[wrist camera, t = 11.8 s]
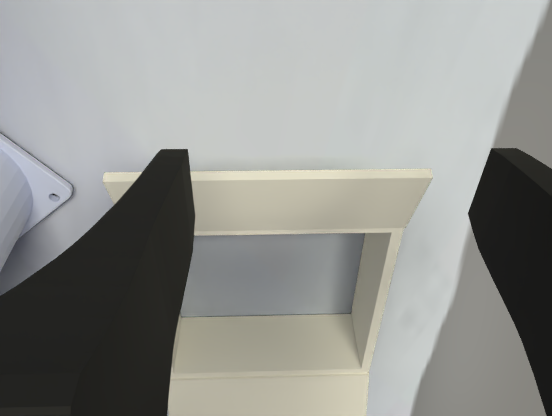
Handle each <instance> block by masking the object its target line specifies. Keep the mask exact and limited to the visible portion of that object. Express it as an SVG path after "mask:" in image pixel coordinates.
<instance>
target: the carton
mask: <svg viewBox="0 0 552 416" xmlns="http://www.w3.org/2000/svg"><path fill="white" fill-rule="evenodd" d="M141 173H142V172H104V177H103V183H104V185H105V187H106V189H107V191H108V193H109V195H110V197H111V199H112V201H113V203H114V205H115V203H116V202H117V201H118V200H119V199H120V198H121V197H122V196H123V194H124V193H125V192H126V191H127V190H128V189H129V188H130V186H131V185H132V184H133V183H134V182H135V181H136V179H137V178H138V177H139V176H140V175H141ZM190 174H191V182H192V191H193V200H194V208H195V228H194V236H202V235H264V234H327V233H365V237H364V243H363V248H362V254H361V260H360V265H359V271H358V277H357V282H356V288H355V294H354V299H353V305H352V311H351V314H320V315H274V316H228V317H182V318H181V313H180V315H179V320H178V325H177V329H176V335H175V341H174V348H173V357H172V367H171V377H170V387H169V398H168V411H169V416H366V410H367V398H368V385H369V369H370V365H371V361H372V357H373V353H374V349H375V345H376V340H377V336H378V332H379V328H380V324H381V320H382V316H383V312H384V308H385V304H386V299H387V295H388V291H389V287H390V283H391V279H392V275H393V271H394V267H395V262H396V258H397V254H398V250H399V246H400V242H401V238H402V234H403V230H404V228H406V226H407V224H408V223H409V221H410V219H411V217H412V215H413V213H414V212H415V210H416V208H417V206H418V204H419V202H420V201H421V199H422V197H423V195H424V193H425V191H426V190H427V188H428V186H429V184H430V182H431V180H432V179H433V176H432V171H431V169H367V170H279V171H192V172H190Z"/></svg>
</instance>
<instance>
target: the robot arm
mask: <svg viewBox="0 0 552 416" xmlns="http://www.w3.org/2000/svg"><path fill="white" fill-rule="evenodd" d="M72 192H73V188H72V186H71V185H70V184H69V183H68V182H67V181H65V180H64V179H63V178H61V177H60V176H59V175H57V174H56V173H54V172H53V171H52V170H50V169H49V168H48V167H46V166H45V165H43V164H42V163H41V162H39V161H38V160H37V159H35V158H34V157H32V156H31V155H30V154H28V153H27V152H26V151H24V150H23V149H21V148H20V147H19V146H17V145H16V144H15V143H13V142H12V141H10V140H9V139H8V138H6V137H5V136H4V135H2V134H1V133H0V272H1V270H2V268H3V266H4V264H5V262H6V260H7V258H8V256H9V254H10V253H11V251H12V249H13V247H14V245H15V243H16V241H17V239H19V238H20V237H21V236H22V235H24V234H25V233H26V232H27V231H29V230H30V229H31V228H32V227H34V226H35V225H36V224H37V223H39V222H40V221H41V220H42V219H44V218H45V217H46V216H47V215H49V214H50V213H51V212H52V211H54V210H55V209H56V208H57V207H59V206H60V205H61V204H62V203H64V202H65V201H66V200H67V199H69V198H70V196H71V195H72ZM53 194H57V195H58V196H59V197H56V196H54V195H53ZM468 215H469V219H470V222H471V226H472V230H473V233H474V236H475V239H476V242H477V245H478V249H479V251H480V253H481V255H482V257H483V259H484V262H485V264H486V266H487V268H488V270H489V272H490V274H491V277H492V279H493V281H494V283H495V285H496V287H497V289H498V291H499V293H500V295H501V297H502V299H503V301H504V303H505V305H506V307H507V309H508V312H509V313H510V315H511V318H512V320H513V322H514V324H515V326H516V328H517V331H518V333H519V336H520V338H521V340H522V343H523V345H524V348H525V351H526V354H527V357H528V360H529V363H530V365H531V368H532V371H533V373H534V377H535V380H536V383H537V386H538V390H539V393H540V396H541V399H542V402H543V406H544V409H545V412H546V415H547V416H552V169H551V168H549V167H548V166H546V165H545V164H543V163H541V162H540V161H538V160H536V159H535V158H533V157H532V156H530V155H528V154H526V153H525V152H523V151H521V150H519V149H516V148H491V151H490V154H489V156H488V159H487V162H486V165H485V167H484V170H483V173H482V176H481V179H480V181H479V184H478V187H477V190H476V193H475V195H474V198H473V201H472V204H471V207H470V209H469V212H468ZM194 228H195V208H194V200H193V191H192V182H191V174H190V165H189V156H188V149H161V150H160V151H159V152H158V153H157V154H156V156H155V157H154V158H153V159H152V161H151V162H150V163H149V165H148V166H147V167H146V168H145V170H144V171H143V172H142V173H141V175H140V176H139V177H138V178H137V179H136V181H135V182H134V183H133V184H132V185H131V186H130V188H129V189H128V190H127V191H126V192H125V193H124V194H123V196H122V197H121V198H120V199H119V200H118V201H117V202H116V203H115V205H114V206H113V207H112V208H111V209H110V210H109V211H108V212H107V213H106V214H105V215H104V216H103V217H102V218H101V219H100V220H99V221H98V222H97V223H96V224H95V225H94V226H93V227H92V228H91V229H90V230H89V231H88V232H86V233H85V234H84V235H83V236H82V237H81V238H80V239H79V240H78V241H76V242H75V243H74V244H73V245H72V246H70V247H69V248H68V249H67V250H66V251H64V252H63V253H62V254H61V255H59V256H58V257H57V258H56V259H54V260H53V261H51V262H50V263H49V264H47V265H46V266H44V267H43V268H41V269H40V270H39V271H37V272H36V273H34V274H33V275H32V276H30V277H29V278H27V279H26V280H25V281H23V282H22V283H20V284H19V285H17V286H16V287H14V288H13V289H11V290H9V291H8V292H6V293H5V294H3V295H1V296H0V416H167V410H168V398H169V387H170V377H171V367H172V357H173V348H174V341H175V335H176V329H177V325H178V320H179V315H180V310H181V305H182V301H183V296H184V291H185V286H186V282H187V277H188V272H189V267H190V262H191V257H192V252H193V241H194Z"/></svg>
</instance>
